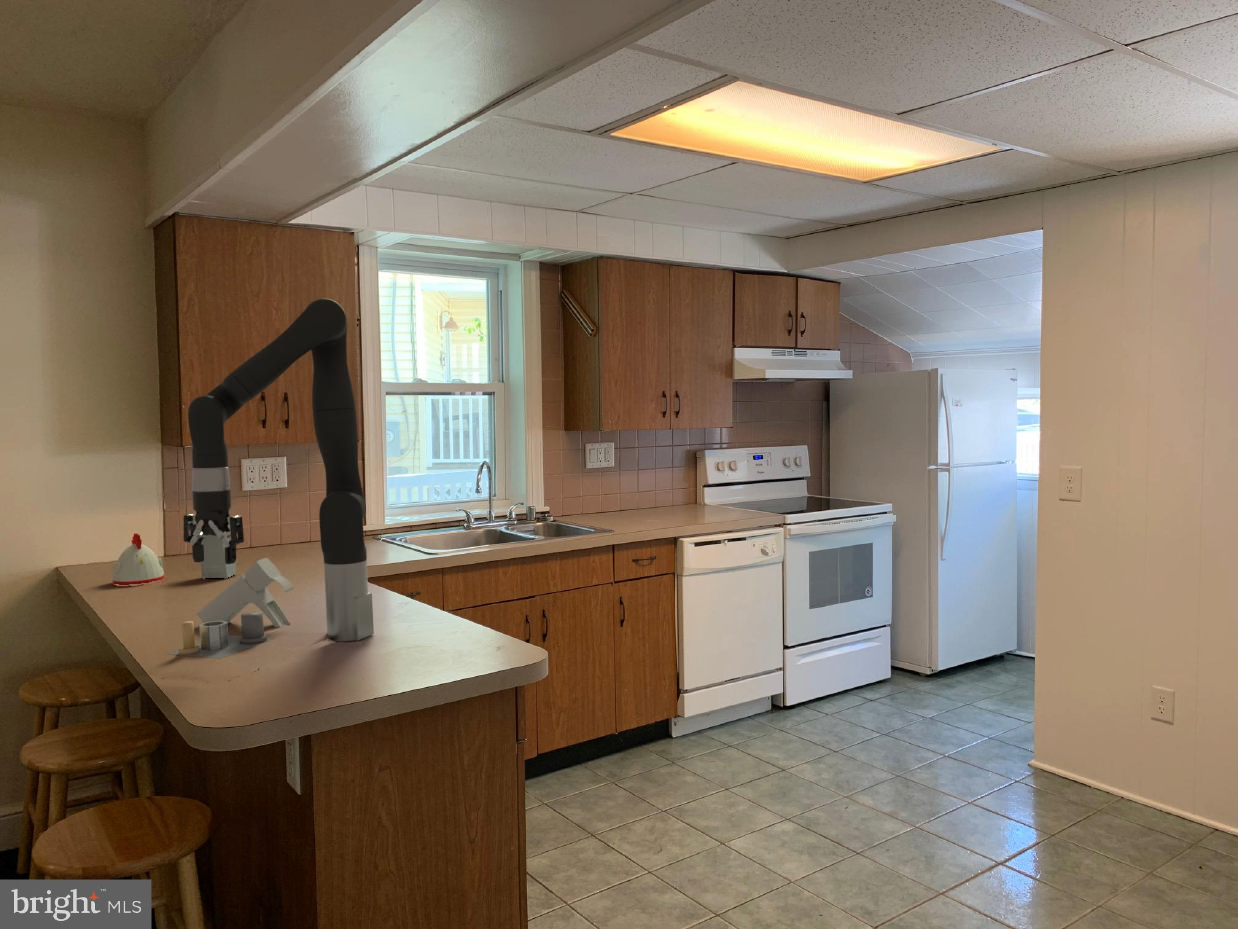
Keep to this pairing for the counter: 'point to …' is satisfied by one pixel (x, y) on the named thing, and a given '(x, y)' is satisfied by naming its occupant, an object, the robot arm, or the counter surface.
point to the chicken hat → (137, 565)
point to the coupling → (214, 635)
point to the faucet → (249, 596)
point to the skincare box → (216, 559)
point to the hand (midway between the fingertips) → (214, 562)
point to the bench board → (249, 638)
